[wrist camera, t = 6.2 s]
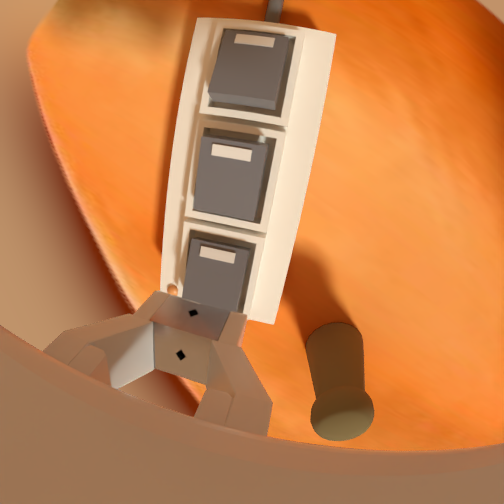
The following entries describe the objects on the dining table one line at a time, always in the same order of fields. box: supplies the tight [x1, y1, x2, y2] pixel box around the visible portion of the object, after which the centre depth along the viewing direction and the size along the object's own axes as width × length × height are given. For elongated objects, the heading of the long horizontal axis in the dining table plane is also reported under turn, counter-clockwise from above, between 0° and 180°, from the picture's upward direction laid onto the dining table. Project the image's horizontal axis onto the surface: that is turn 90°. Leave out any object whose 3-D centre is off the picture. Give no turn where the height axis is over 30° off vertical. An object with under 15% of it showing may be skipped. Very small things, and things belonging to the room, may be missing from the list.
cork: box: [306, 323, 374, 441], centre depth 25 cm, size 6×6×11 cm
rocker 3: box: [182, 237, 251, 312], centre depth 22 cm, size 4×5×2 cm
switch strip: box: [160, 0, 336, 325], centre depth 21 cm, size 10×29×6 cm, turn 170°
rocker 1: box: [208, 30, 289, 110], centre depth 16 cm, size 4×5×2 cm
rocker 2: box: [193, 134, 269, 221], centre depth 19 cm, size 4×5×2 cm
